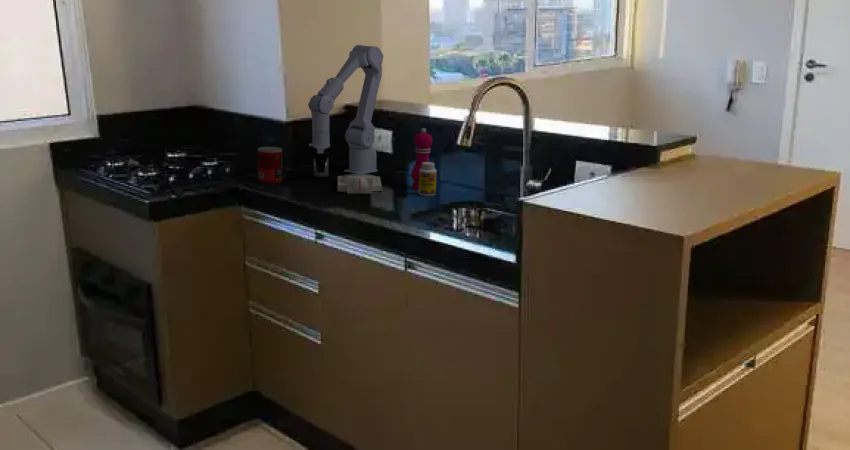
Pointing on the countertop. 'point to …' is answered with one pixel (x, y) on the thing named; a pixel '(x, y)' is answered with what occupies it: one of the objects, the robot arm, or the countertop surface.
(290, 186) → the countertop surface
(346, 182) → the scale
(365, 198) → the countertop surface
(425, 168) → the supplement bottle
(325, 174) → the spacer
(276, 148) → the canned food
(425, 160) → the pepper mill
